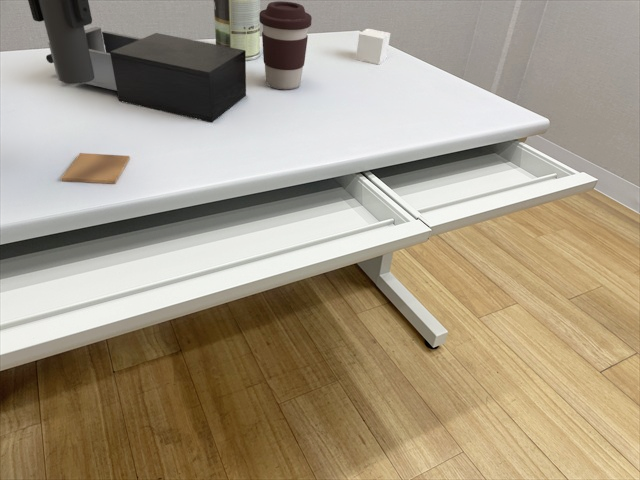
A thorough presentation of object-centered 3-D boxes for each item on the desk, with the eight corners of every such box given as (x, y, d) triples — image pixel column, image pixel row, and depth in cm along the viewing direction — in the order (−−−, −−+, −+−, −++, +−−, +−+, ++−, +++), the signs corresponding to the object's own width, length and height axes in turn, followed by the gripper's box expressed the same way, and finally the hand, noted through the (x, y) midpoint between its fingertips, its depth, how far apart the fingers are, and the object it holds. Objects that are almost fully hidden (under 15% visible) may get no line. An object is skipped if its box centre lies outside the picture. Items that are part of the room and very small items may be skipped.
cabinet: (118, 100, 85) (109, 51, 79) (161, 77, 95) (156, 32, 90) (212, 122, 81) (209, 72, 76) (246, 95, 91) (245, 50, 86)
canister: (53, 82, 57) (23, -31, 49) (66, 71, 60) (39, -37, 52) (88, 85, 57) (62, -28, 50) (99, 73, 60) (77, -34, 53)
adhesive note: (379, 64, 113) (383, 38, 109) (355, 59, 115) (359, 33, 111) (386, 58, 118) (390, 32, 114) (363, 53, 119) (367, 28, 115)
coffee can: (208, 57, 107) (204, -12, 98) (225, 44, 115) (222, -21, 106) (252, 64, 106) (252, -6, 97) (265, 51, 114) (266, -15, 105)
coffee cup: (254, 75, 100) (254, -2, 91) (299, 74, 103) (303, -1, 94) (265, 94, 93) (266, 11, 84) (313, 92, 96) (319, 12, 87)
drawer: (38, 76, 88) (28, 38, 84) (84, 58, 97) (77, 22, 93) (140, 99, 84) (134, 60, 80) (178, 78, 93) (174, 42, 89)
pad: (61, 181, 63) (60, 177, 63) (80, 155, 69) (80, 152, 69) (115, 184, 64) (114, 180, 64) (130, 158, 69) (129, 155, 69)
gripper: (-99, -204, 42) (-23, 17, 53) (59, -190, 39) (104, 43, 50) (-26, -193, 48) (29, 5, 59) (117, -180, 44) (146, 27, 56)
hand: (63, 20), depth 54 cm, fingers closed on canister, 4 cm apart
